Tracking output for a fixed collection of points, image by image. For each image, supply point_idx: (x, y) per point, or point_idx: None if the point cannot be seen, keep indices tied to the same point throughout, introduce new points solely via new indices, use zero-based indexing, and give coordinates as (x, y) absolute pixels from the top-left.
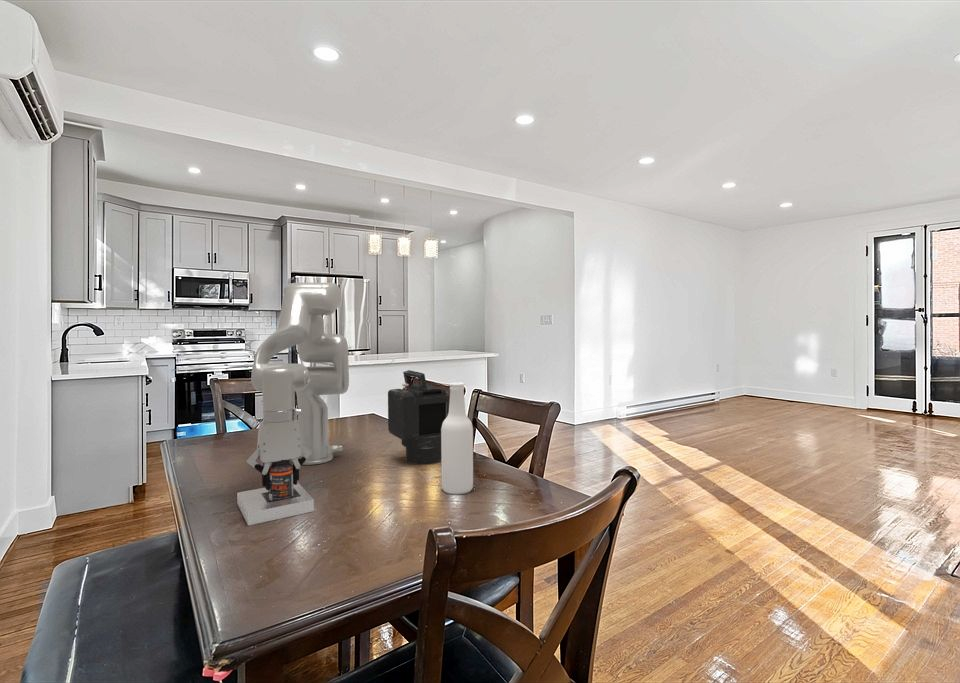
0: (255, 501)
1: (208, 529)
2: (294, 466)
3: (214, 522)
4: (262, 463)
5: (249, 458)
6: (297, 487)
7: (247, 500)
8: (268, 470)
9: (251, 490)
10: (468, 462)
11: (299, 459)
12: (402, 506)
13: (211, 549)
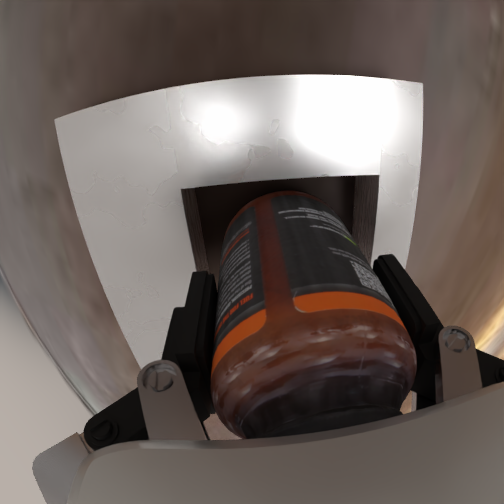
0: (158, 299)
1: (53, 316)
2: (414, 390)
3: (49, 276)
4: (150, 435)
5: (52, 496)
6: (396, 192)
7: (119, 269)
8: (213, 404)
9: (125, 106)
10: None
11: (483, 385)
12: (499, 356)
13: (104, 401)
